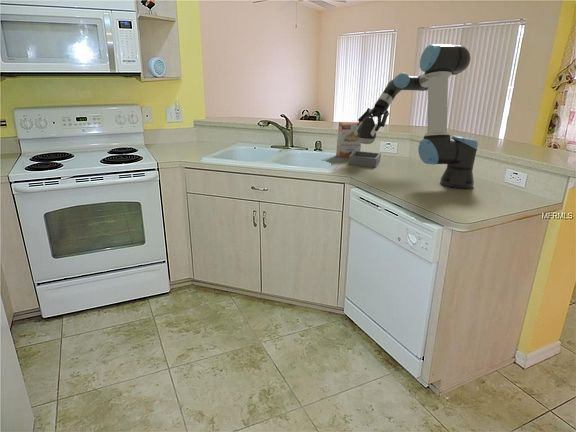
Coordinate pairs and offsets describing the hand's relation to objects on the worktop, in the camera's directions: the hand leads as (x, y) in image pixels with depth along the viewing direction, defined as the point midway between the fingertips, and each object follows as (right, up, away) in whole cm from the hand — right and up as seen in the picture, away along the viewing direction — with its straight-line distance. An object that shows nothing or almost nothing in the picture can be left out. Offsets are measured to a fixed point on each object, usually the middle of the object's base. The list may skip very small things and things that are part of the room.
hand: (364, 133), depth 221 cm
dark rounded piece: (+2, -5, +4) cm, 7 cm away
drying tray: (+2, -16, +8) cm, 17 cm away
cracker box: (-6, -10, +23) cm, 26 cm away
